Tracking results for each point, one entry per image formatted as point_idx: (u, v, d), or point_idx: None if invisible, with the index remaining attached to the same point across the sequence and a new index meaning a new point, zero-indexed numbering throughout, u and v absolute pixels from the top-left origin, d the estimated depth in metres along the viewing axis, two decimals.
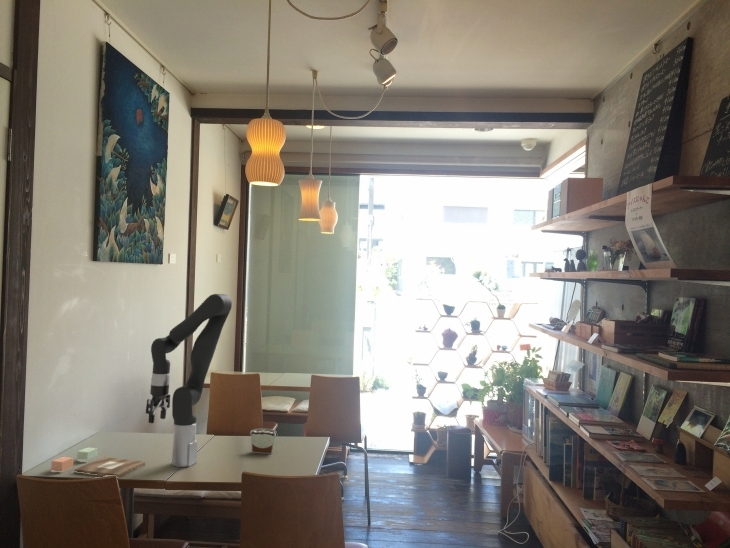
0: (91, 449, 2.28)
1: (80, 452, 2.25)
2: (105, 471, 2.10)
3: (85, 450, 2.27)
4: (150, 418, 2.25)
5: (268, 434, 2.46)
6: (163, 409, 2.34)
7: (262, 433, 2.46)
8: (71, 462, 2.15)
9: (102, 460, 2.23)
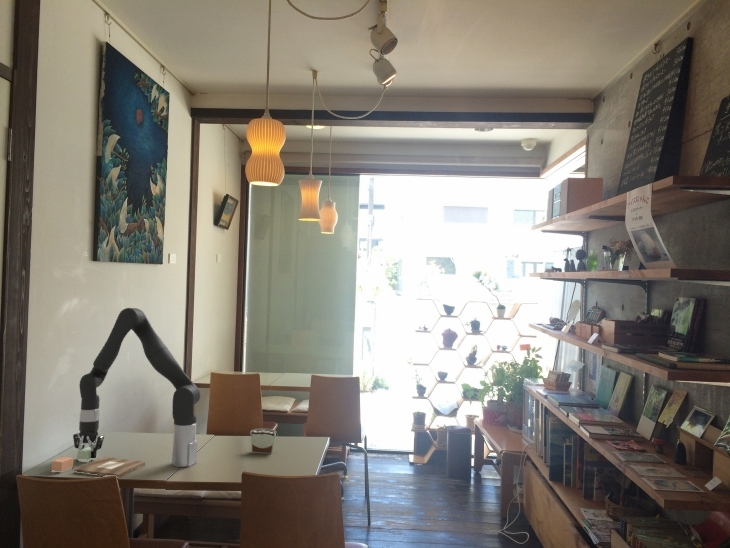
0: None
1: (80, 452, 2.25)
2: (105, 471, 2.10)
3: (85, 450, 2.27)
4: (95, 454, 2.27)
5: (268, 434, 2.46)
6: (82, 448, 2.28)
7: (262, 433, 2.46)
8: (71, 462, 2.15)
9: (102, 460, 2.23)
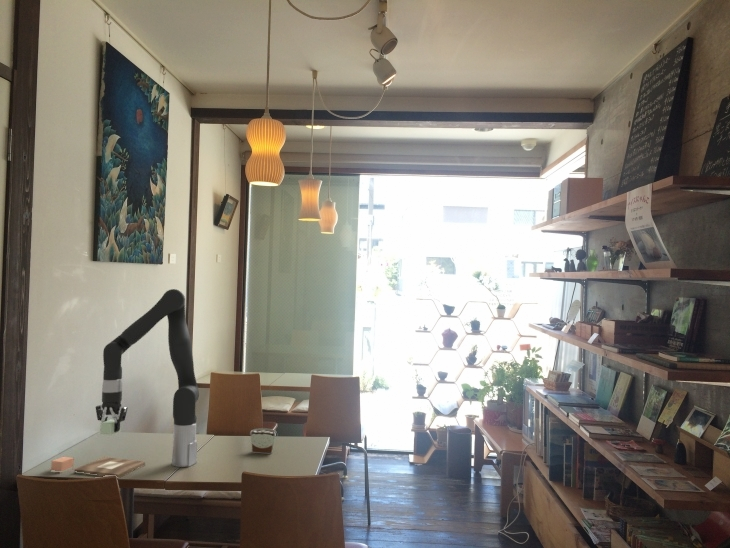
0: None
1: (103, 423, 2.17)
2: (105, 471, 2.10)
3: (108, 422, 2.18)
4: (119, 426, 2.19)
5: (268, 434, 2.46)
6: (105, 420, 2.20)
7: (262, 433, 2.46)
8: (71, 462, 2.15)
9: (102, 460, 2.23)
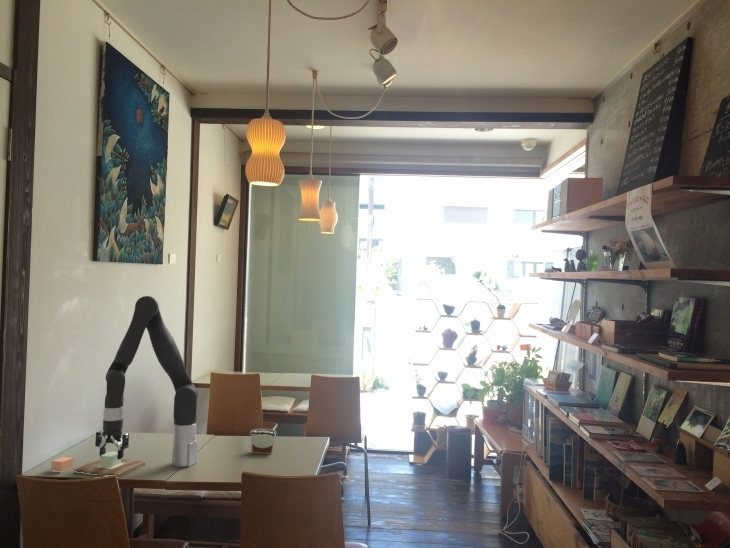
0: (115, 453, 2.18)
1: (103, 456, 2.15)
2: (105, 471, 2.10)
3: (108, 454, 2.16)
4: (122, 453, 2.16)
5: (268, 434, 2.46)
6: (103, 446, 2.18)
7: (262, 433, 2.46)
8: (71, 462, 2.15)
9: None
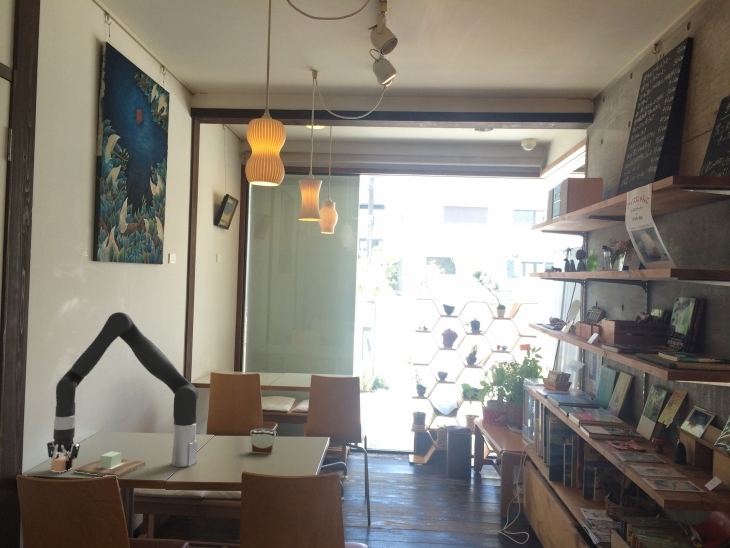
0: (115, 453, 2.18)
1: (103, 456, 2.15)
2: (105, 471, 2.10)
3: (108, 454, 2.16)
4: (71, 464, 2.13)
5: (268, 434, 2.46)
6: (57, 457, 2.15)
7: (262, 433, 2.46)
8: None
9: None
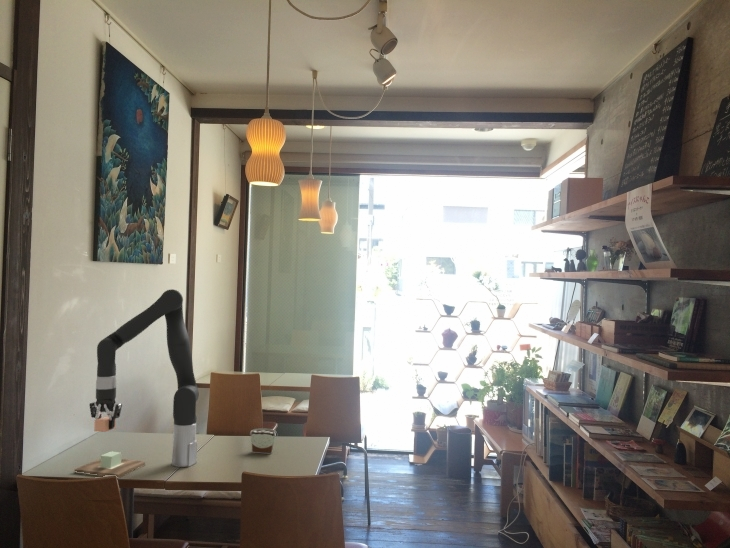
0: (115, 453, 2.18)
1: (103, 456, 2.15)
2: (105, 471, 2.10)
3: (108, 454, 2.16)
4: (113, 423, 2.17)
5: (268, 434, 2.46)
6: (99, 417, 2.18)
7: (262, 433, 2.46)
8: None
9: None
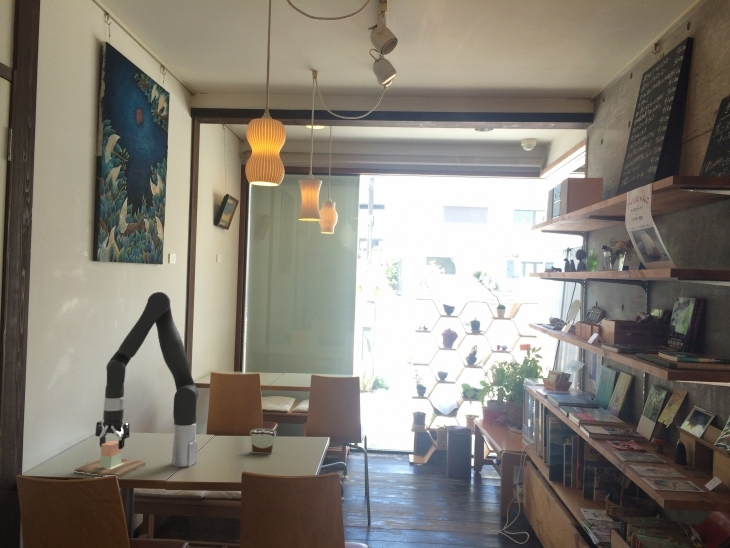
0: None
1: (103, 456, 2.15)
2: (105, 471, 2.10)
3: None
4: (123, 443, 2.16)
5: (268, 434, 2.46)
6: (103, 436, 2.18)
7: (262, 433, 2.46)
8: None
9: None
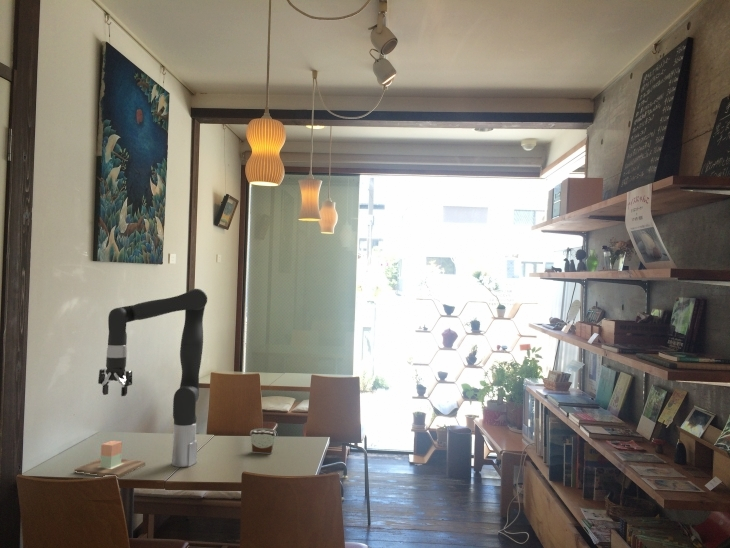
0: None
1: (103, 456, 2.15)
2: (105, 471, 2.10)
3: None
4: (126, 390, 2.17)
5: (268, 434, 2.46)
6: (106, 384, 2.19)
7: (262, 433, 2.46)
8: (120, 446, 2.19)
9: None
